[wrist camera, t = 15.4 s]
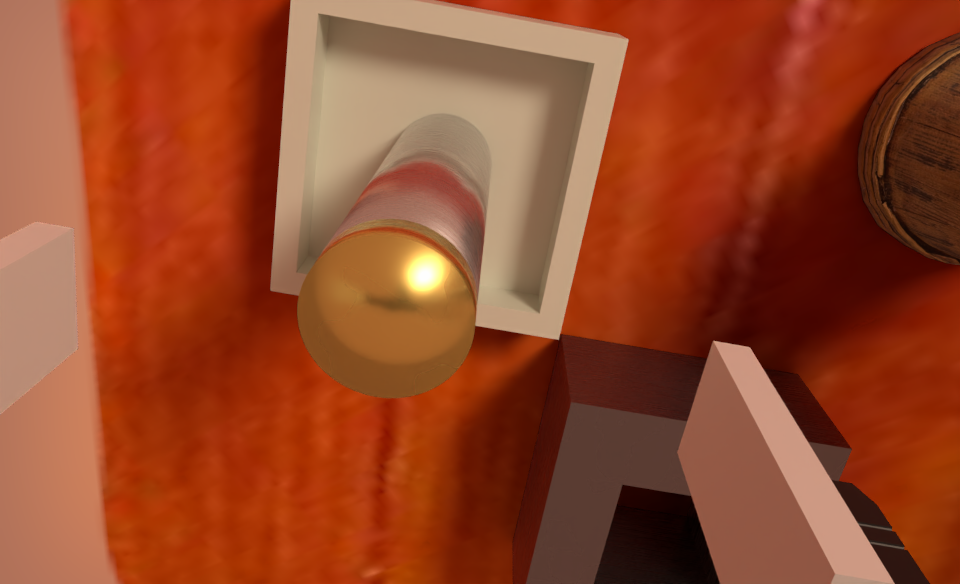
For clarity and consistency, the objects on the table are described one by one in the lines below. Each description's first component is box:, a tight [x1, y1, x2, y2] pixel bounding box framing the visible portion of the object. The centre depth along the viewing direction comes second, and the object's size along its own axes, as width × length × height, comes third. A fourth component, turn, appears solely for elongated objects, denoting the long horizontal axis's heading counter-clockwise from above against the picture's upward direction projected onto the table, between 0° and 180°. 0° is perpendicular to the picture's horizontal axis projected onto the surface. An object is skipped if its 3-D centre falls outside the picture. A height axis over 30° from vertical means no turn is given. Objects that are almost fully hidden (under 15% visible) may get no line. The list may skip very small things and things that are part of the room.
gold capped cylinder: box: [297, 113, 492, 398], centre depth 24 cm, size 4×4×15 cm
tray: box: [270, 0, 629, 340], centre depth 31 cm, size 12×12×3 cm
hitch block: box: [513, 334, 852, 584], centre depth 35 cm, size 12×11×6 cm
